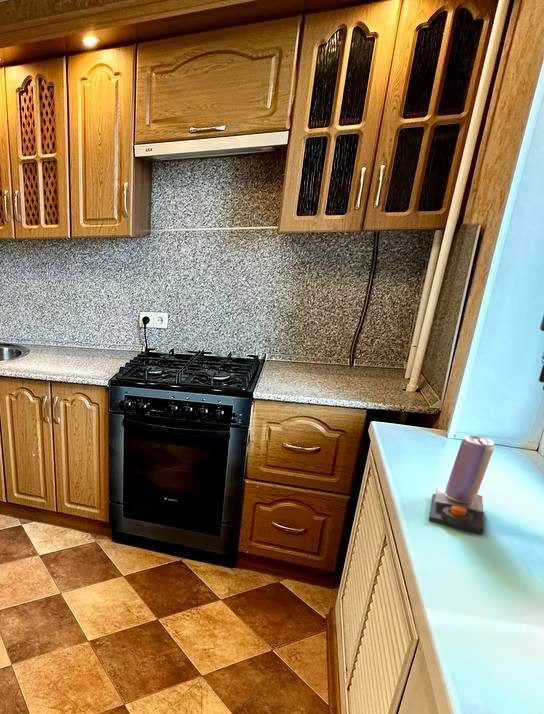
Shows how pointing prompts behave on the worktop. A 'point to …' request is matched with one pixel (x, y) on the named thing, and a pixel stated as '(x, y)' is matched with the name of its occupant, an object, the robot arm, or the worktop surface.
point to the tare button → (458, 511)
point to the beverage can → (469, 469)
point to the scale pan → (443, 499)
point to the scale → (456, 518)
